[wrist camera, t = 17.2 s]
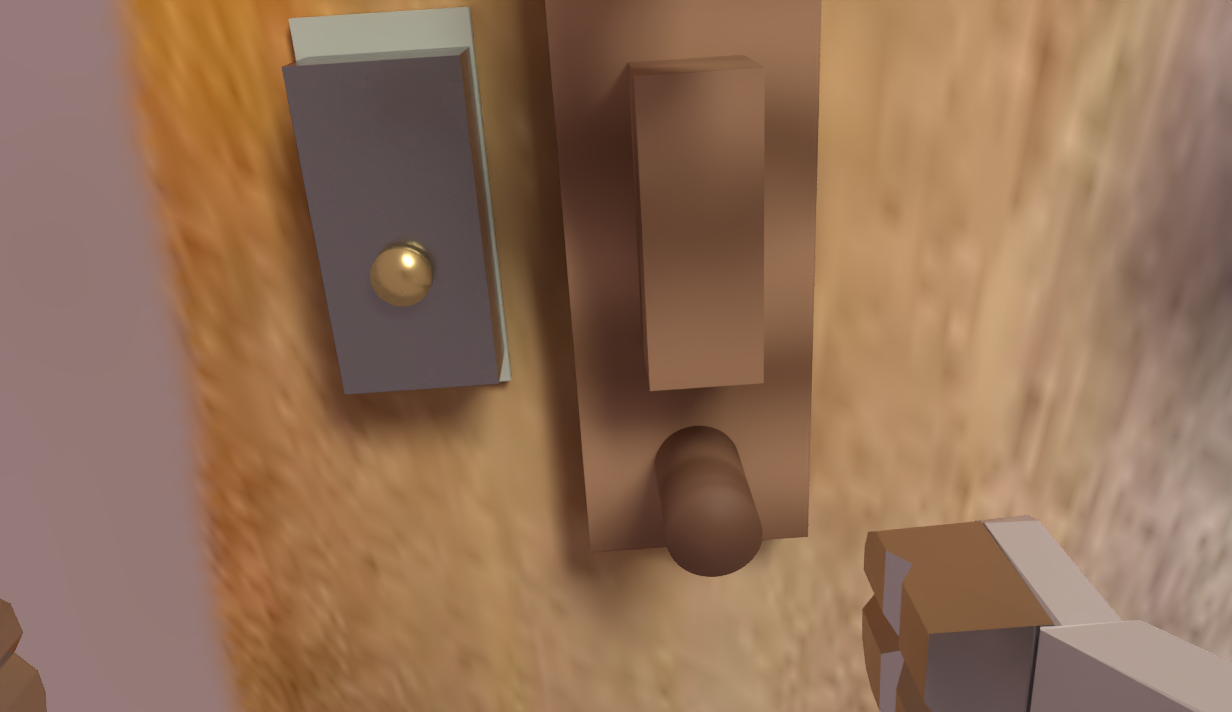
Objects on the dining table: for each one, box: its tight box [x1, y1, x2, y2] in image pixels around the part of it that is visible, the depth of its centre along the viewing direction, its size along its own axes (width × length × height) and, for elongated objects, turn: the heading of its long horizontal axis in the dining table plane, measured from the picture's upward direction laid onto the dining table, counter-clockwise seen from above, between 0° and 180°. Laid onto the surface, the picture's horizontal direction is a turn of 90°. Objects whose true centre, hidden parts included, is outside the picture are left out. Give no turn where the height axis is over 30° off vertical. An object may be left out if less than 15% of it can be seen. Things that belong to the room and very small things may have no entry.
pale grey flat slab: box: [289, 7, 512, 382], centre depth 28 cm, size 11×5×1 cm, turn 3°
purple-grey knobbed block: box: [282, 46, 505, 395], centre depth 26 cm, size 9×4×3 cm, turn 4°
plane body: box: [545, 0, 821, 577], centre depth 24 cm, size 24×7×8 cm, turn 3°
